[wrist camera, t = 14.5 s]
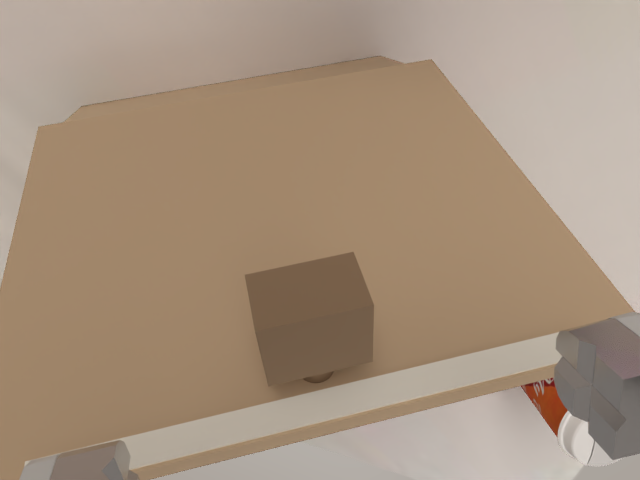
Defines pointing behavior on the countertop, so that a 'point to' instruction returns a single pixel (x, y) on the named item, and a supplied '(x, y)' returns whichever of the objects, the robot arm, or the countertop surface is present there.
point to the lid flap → (276, 272)
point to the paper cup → (566, 425)
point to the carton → (230, 87)
